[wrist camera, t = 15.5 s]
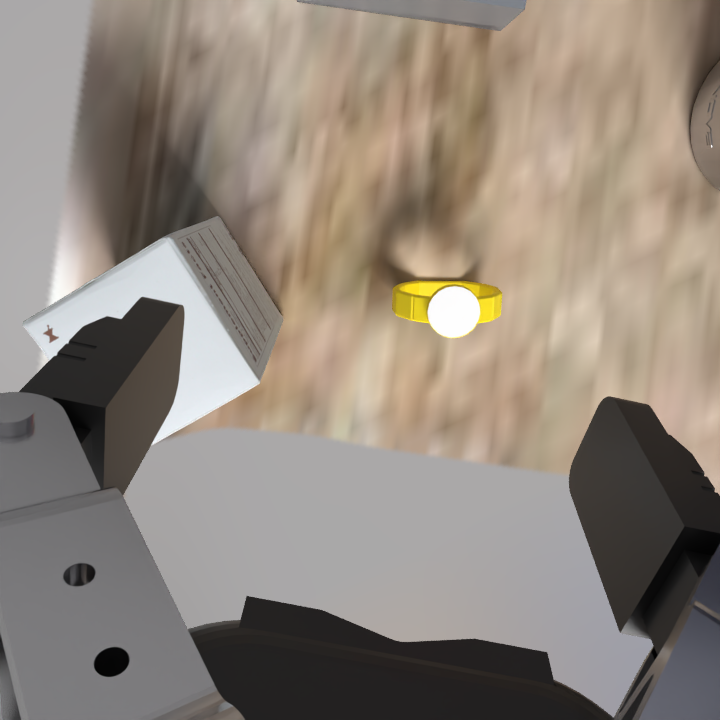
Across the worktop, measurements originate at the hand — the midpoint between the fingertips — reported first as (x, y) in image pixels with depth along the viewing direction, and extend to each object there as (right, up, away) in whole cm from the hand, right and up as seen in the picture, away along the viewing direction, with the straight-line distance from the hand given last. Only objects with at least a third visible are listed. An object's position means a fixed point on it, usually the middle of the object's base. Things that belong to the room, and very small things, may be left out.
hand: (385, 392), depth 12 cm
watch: (+4, +5, +27) cm, 28 cm away
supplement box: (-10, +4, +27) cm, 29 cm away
